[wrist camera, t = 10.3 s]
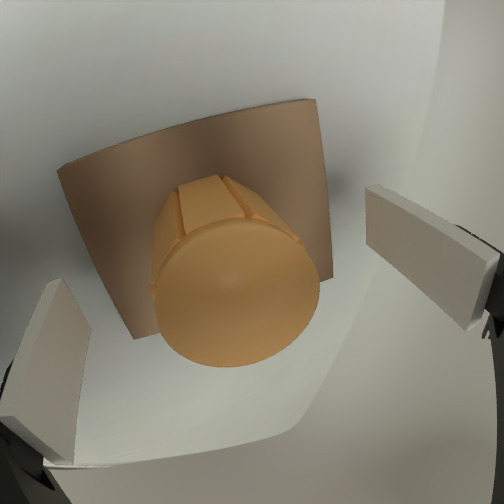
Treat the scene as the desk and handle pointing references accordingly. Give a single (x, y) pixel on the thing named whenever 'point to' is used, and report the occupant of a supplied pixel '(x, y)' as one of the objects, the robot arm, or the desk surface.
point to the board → (188, 170)
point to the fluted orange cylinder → (228, 275)
